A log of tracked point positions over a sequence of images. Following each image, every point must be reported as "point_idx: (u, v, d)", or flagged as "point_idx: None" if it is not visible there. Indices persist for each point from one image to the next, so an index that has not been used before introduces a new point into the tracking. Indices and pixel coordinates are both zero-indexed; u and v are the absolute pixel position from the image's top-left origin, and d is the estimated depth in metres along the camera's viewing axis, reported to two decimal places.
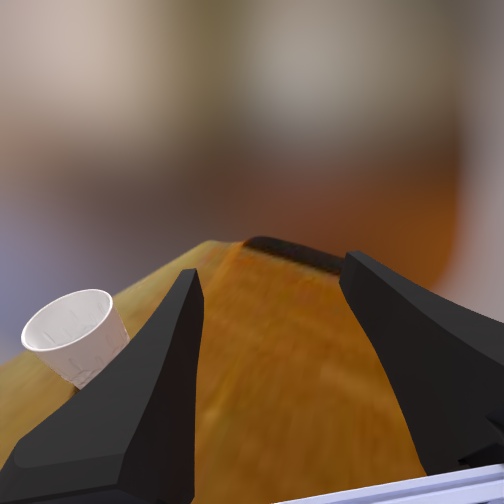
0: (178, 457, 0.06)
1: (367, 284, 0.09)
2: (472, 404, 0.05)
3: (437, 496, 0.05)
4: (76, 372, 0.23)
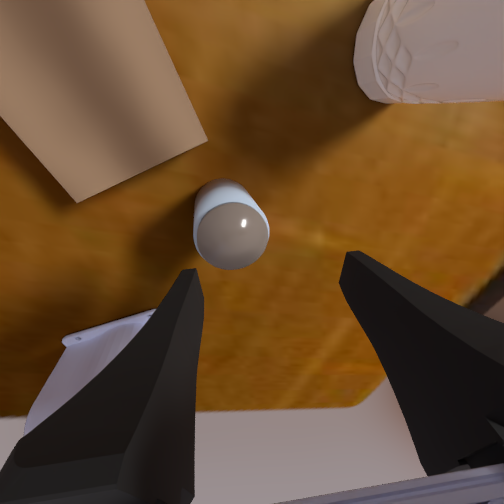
0: (178, 457, 0.06)
1: (367, 284, 0.09)
2: (472, 404, 0.05)
3: (437, 496, 0.05)
4: (412, 47, 0.11)
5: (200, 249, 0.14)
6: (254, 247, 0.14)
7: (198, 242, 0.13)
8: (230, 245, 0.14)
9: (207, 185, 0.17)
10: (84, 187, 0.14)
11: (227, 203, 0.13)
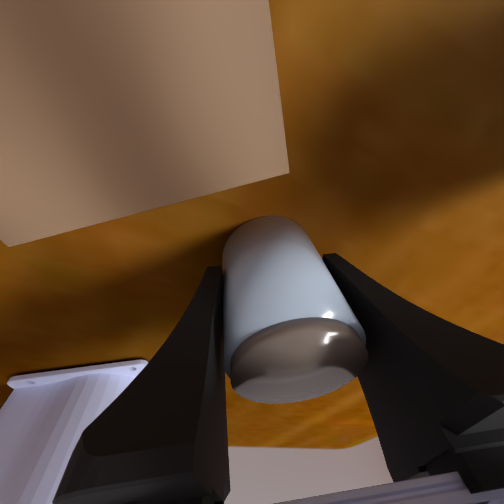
0: (220, 450, 0.06)
1: (340, 287, 0.09)
2: (428, 411, 0.05)
3: (437, 496, 0.05)
4: None
5: (234, 383, 0.07)
6: (329, 382, 0.08)
7: (233, 376, 0.07)
8: (291, 380, 0.07)
9: (254, 228, 0.10)
10: (23, 223, 0.07)
11: (312, 323, 0.06)
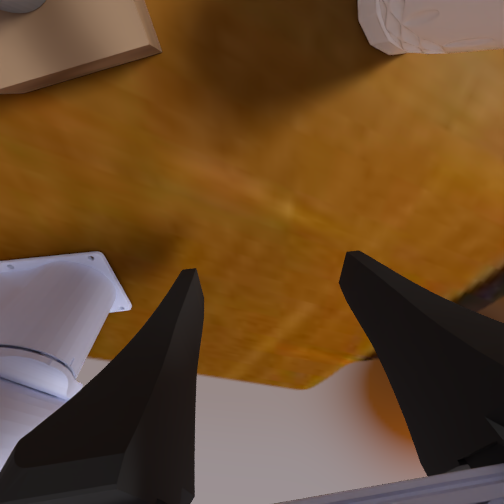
0: (178, 457, 0.06)
1: (367, 284, 0.09)
2: (472, 404, 0.05)
3: (437, 496, 0.05)
4: None
5: None
6: None
7: None
8: None
9: None
10: None
11: None
